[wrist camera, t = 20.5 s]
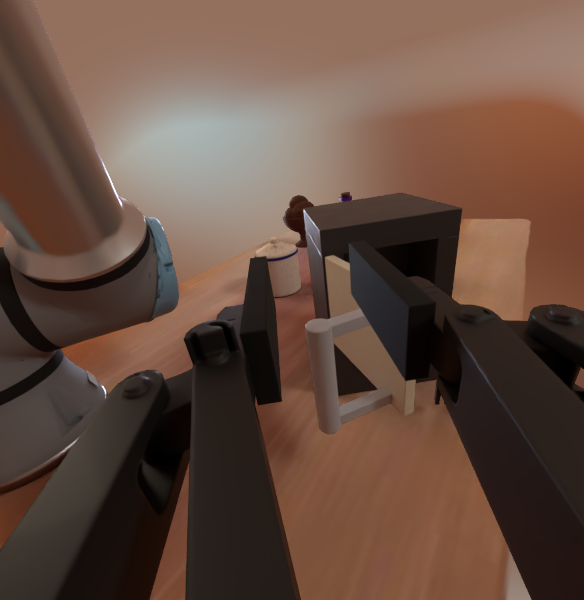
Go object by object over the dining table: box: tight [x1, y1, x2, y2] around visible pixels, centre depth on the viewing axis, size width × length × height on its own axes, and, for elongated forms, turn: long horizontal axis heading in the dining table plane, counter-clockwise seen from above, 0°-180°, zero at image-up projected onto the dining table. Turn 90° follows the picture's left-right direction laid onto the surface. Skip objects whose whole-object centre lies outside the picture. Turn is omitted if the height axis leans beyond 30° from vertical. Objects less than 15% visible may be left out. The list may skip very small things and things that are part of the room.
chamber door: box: [305, 255, 416, 434], centre depth 23 cm, size 7×11×9 cm, turn 21°
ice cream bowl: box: [283, 195, 314, 247], centre depth 90 cm, size 11×11×15 cm
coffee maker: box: [303, 193, 462, 396], centre depth 36 cm, size 14×13×20 cm
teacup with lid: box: [255, 237, 301, 297], centre depth 63 cm, size 12×9×12 cm
